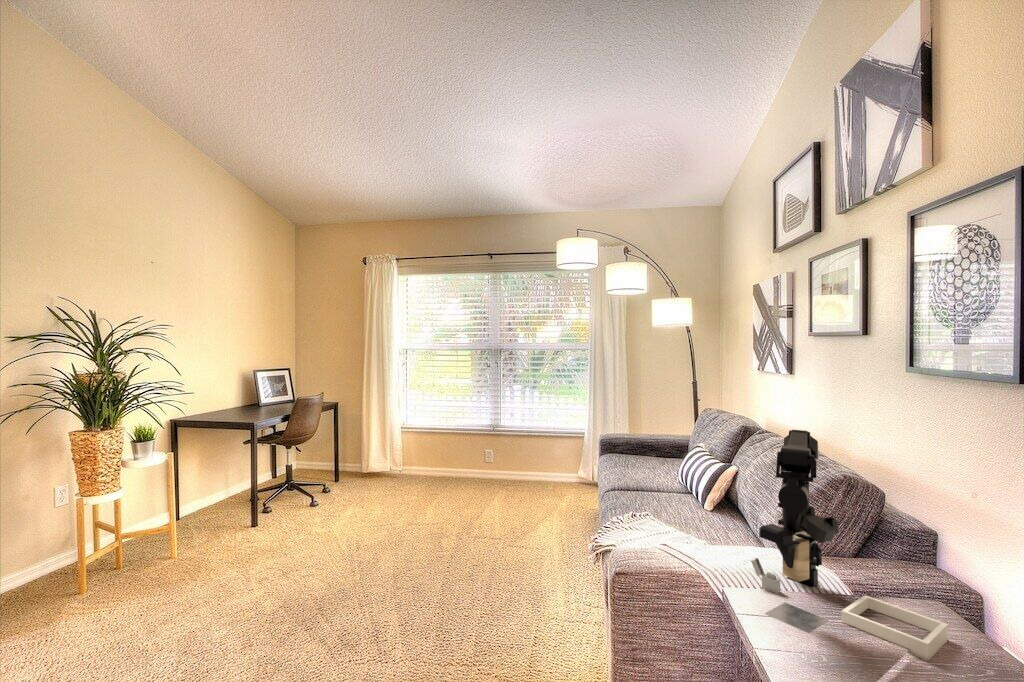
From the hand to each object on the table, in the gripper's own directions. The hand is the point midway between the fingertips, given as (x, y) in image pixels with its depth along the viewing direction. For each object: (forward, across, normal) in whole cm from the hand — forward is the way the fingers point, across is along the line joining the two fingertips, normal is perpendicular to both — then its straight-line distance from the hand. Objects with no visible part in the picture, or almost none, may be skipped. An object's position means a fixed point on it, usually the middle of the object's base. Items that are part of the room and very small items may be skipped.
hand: (795, 566), depth 116 cm
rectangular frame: (+13, +16, -12) cm, 24 cm away
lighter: (+13, +7, +13) cm, 20 cm away
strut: (+2, 0, 0) cm, 2 cm away
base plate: (+13, 0, 0) cm, 13 cm away
